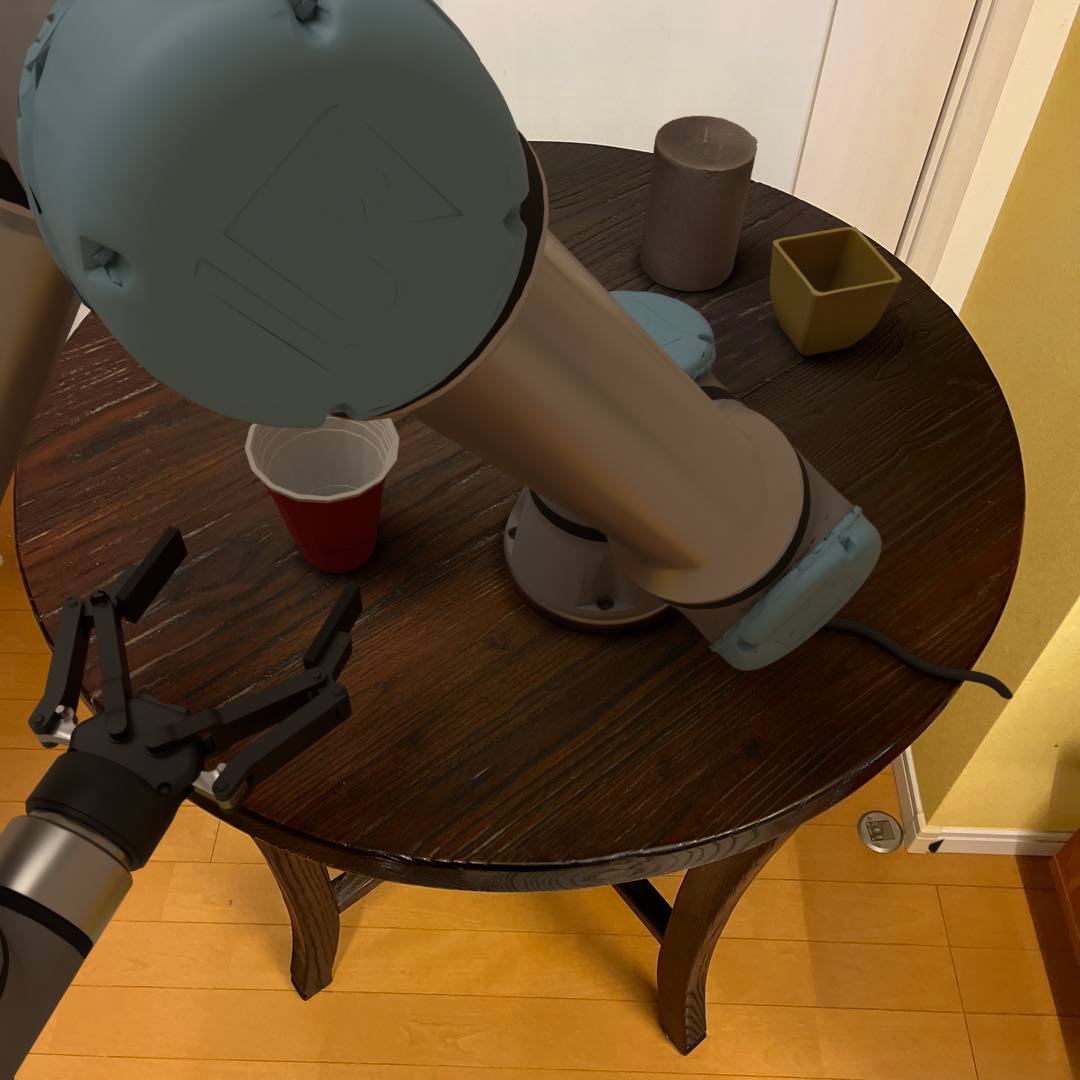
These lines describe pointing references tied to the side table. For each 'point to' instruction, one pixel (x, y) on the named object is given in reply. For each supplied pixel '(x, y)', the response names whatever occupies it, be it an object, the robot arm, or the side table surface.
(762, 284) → the side table surface
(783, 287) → the flower pot
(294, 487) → the plastic cup
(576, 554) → the robot arm
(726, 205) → the pillar candle
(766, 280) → the side table surface
